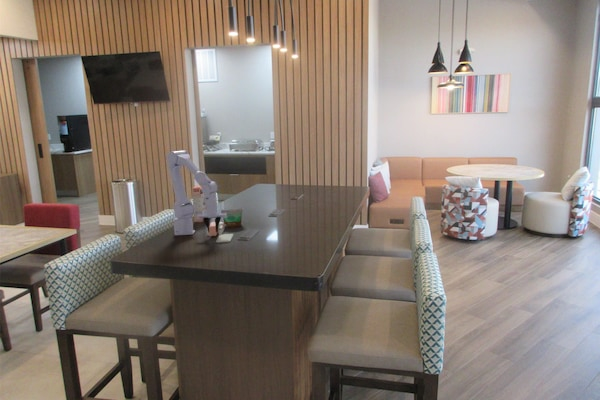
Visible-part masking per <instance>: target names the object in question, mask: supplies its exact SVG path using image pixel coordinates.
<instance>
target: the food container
mask: <svg viewBox="0 0 600 400" xmlns="http://www.w3.org/2000/svg"><path fill="white" fill-rule="evenodd" d="M220 213H226V215H227V217H226V218H222V220H223V222H224V228H227V227H228V228H229V229H230V228H231V229H232V228H233V227H235V228H239V227H241V226H242V218H243V217H242V215H243V213H244V210H243V208H242V207H240V208H239V209H236V208H235V209H228V210H225V209H221V211H220ZM233 229H234V228H233Z"/></svg>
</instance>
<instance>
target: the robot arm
mask: <svg viewBox="0 0 600 400" xmlns="http://www.w3.org/2000/svg"><path fill="white" fill-rule="evenodd" d="M166 161H167V169H168V173H169V176H170V180H171V183H172V188H173V192H174V195H175V199H176V201H175V202H174V204H173V209H174V210H173V213H174V216H175V217H174V218H173V230H174V236H188V235H189V236H191V235H194V233H195V232H196V230H195V229H194V223H193V217H194V211H195V209H194V206H193V201H192V199H189V198H188V196H187V193H186V189H185V185H184V180H183V178H182V174H181V169H182V166H184V167H186V169H187V170H189V172H190V173H191V174H192V175H193V179H194V180H195V182H196V183H197V184H198V186H199V185H200V186H201V187H202V192H203V194H204V197H205V206H206V214H200V215H197V218H198V219H204V220H203V221H204V222H203V223H204V224H205V226H206V228H207V229H208V232H209V226H210V223H211V222H210V220H211V219H214V222H215V224H216V232H218V226H219V222H221V219H223V218H226V217H227V215H226V213H221V212H218V204H217V203H218V202H217V192H218V190H219V186H218V183H217V182H216V181H214V180H211V179H210V177H208V176H207V174H206V173H205V172H204V171H201V170H199V169H198V167H197V166H196V164H195V163H194V162H193V160H192V159H191V156H190V154H189V153H188V151H186V150H184V149H182V150H174V151H171V150H170V151H169V152H168V153H167V155H166ZM207 229H206V230H207ZM218 233H219V232H218Z"/></svg>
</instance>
